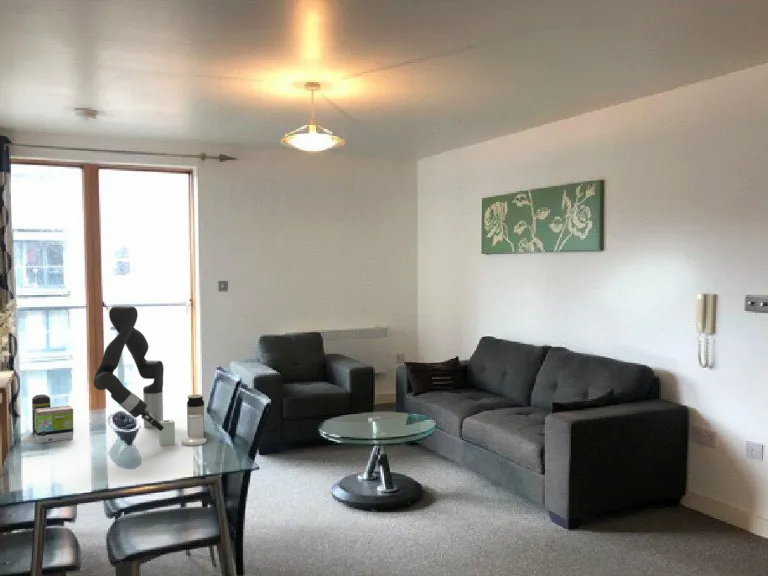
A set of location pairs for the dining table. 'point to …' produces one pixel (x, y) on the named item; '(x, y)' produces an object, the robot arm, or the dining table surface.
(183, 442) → the dish
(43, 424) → the tea box
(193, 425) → the tall white lidded box
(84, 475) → the dining table surface
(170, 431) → the pale grey boxy piece
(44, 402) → the coffee jar
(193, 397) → the travel mug
